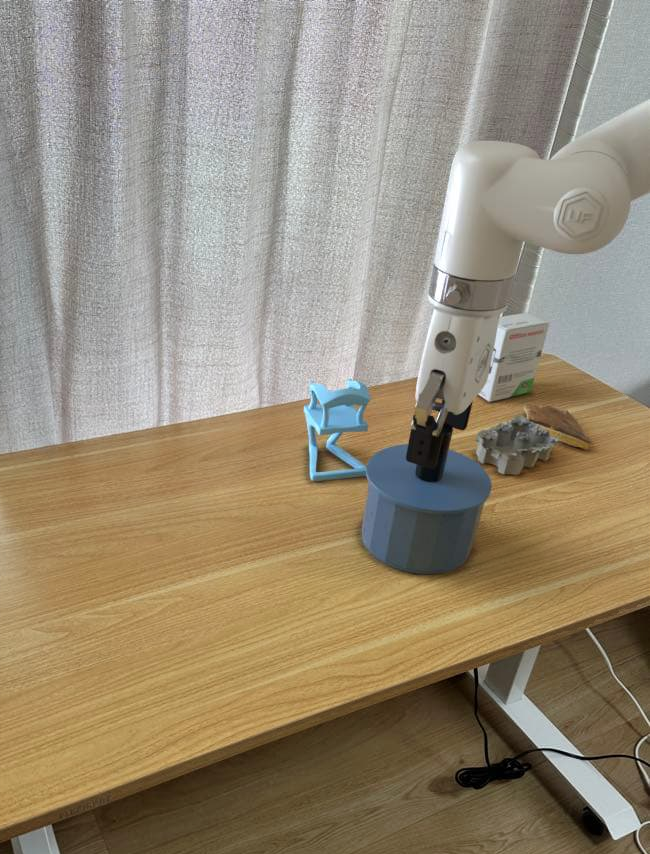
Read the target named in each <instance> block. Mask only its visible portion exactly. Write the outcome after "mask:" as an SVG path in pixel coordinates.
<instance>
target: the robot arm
mask: <svg viewBox="0 0 650 854" xmlns="http://www.w3.org/2000/svg"><path fill="white" fill-rule="evenodd" d="M648 194H650V98H648V99H646V100H645V101H643V102H641V103H639V104H636V105H635V106H633V107H631V108H629V109H627V110H626V111H624V112H622V113H620V114H618V115H616V116H615V117H613V118H611V119H609V120H608V121H606V122H604V123H601V124H600V125H598V126H597V127H594V128H592V129H591V130H589V131H587V132H586V133H583V134H582V135H580V136H578V137H576V138H575V139H574V140H572V141H570V142H568V143H567V144H566V145H564V146H563V147H561V148H560V149H558V151H557V152H555V154H554V155H553V156H552V157H551V158H550V159H546V158H545V159H544V158H540V156H539V154H538V153H537V152H536V151H535V150H534V149H532V148H530V147H529V146H526V145H523V144H521V143H516V142H511V141H510V142H509V141H503V140H502V141H501V140H475V141H469V142H467V143H465V144H463V145H461V146H460V147H459V149H457V151H456V152H455V154H454V156H453V159H452V163H451V167H450V172H449V179H448V183H447V187H446V194H445V200H444V205H443V210H442V216H441V222H440V227H439V233H438V238H437V244H436V250H435V254H434V259H433V260H434V261H433V265H432V271H431V276H430V281H429V288H428V292H427V301H428V303H430V304H431V306H433V311H432V315H431V317H430V318H431V319H430V323H429V325H428V328H427V329H428V330H427V334H426V338H425V342H424V347H423V351H422V356H421V360H420V366H419V370H418V374H417V376H418V377H417V379H416V380H417V381H416V387H415V396H414V397H415V401H416V403H415V406H414V414H413V416H412V422H411V424H410V425H411V426H410V433H409V439H408V443H407V444H408V448H407V454H406V460H407V461H408V462H411V463H414V464H417V465H420V466H423V467H426V468H430V469H434V468H435V467H436V465H437V462H438V457H439V452H440V448H441V443H442V439H443V433H440V432H441V429H442V427H443V424H444V422H445V423H448V424H449V425H451V426H452V428H453V429H456V430H459V431H465V430H466V429H467V427H468V423H469V420H470V415H471V411H472V407H473V402H474V400H475V399H476V398H477V397H478V396H479V395H478V394H479V393H480V391H481V390H482V389H483V387H484V386H485V384H486V382H487V379H488V374H489V369H490V364H491V359H492V354H493V349H494V344H495V339H496V334H497V328H498V322H499V317H501V316H500V315H501V314H503V313H505V312H506V311H507V309H508V306H509V301H510V297H511V293H512V289H513V284H514V281H515V277H516V273H517V269H518V265H519V262H520V261H519V260H520V258H521V252H522V248H523V245H524V243H526V244H531V245H534V246H537V247H540V248H543V249H546V250H549V251H552V252H556V253H560V254H567V255H585V254H590V253H594V252H597V251H599V250H601V249H603V248H605V247H606V246H607V245H609V244H610V243H611V242H613V241H614V240H615V239H616V238H617V237H618V236H619V234H620V233H621V232H622V230H623V229H624V227H625V225H626V223H627V221H628V218H629V215H630V211H631V210H630V209H631V205H632V204H631V202H634V201H635V200H637V199H639V198H641V197H643V196H645V195H648ZM437 399H439V400H441V402H438V401H436V400H437ZM433 411H436V412H439V413H438V416H437V418H436V419H435V416H434V415H432V412H433ZM435 421H436V422H435Z"/></svg>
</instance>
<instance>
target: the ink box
mask: <svg viewBox="0 0 650 854" xmlns="http://www.w3.org/2000/svg"><path fill="white" fill-rule="evenodd" d="M549 326H550V322H548V321H547V320H544V319H542V318H540V317H539V316H537V315H535V314H532V313H531V312H523V313H522V312H521V313H517V314H511V315H504V316H503V315H502V316H499V322H498V328H497V334H496V339H495V344H494V349H493V354H492V359H491V364H490V369H489V374H488V379H487V382H486V384H485V386H484V387H483V389H482V390H481V391H480V393H479V394H478V395H477V396H480V397H481V398H483V399H484V400H485V401H487V402H489V403H491V402H495V401H499V400H504V399H508V398H513V397H517V396H521V395H526V394H531V392H532V389H533V384H534V381H535V377H536V373H537V371H538V366H539V363H540V359H541V356H542V352H543V348H544V345H545V341H546V337H547V334H548V330H549Z"/></svg>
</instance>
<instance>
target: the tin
mask: <svg viewBox="0 0 650 854" xmlns="http://www.w3.org/2000/svg"><path fill="white" fill-rule="evenodd" d="M484 506H485V502H484V503H483V504H482V505H481V506H479V507H477V508H475V509H473V510H470V511H467V512H463V513H457V514H430V513H424V512H419V511H414V510H411V509H407V508H404V507H402V506H399V505H397V504H395V503H393V502H390V501H389V500H387V499H385V498H384V497H382V496H381V495H380V494H378V493H377V492H376V491H375V490H374V489H373V488H372V486H371V485H370V483H369V482H368V487H367V495H366V501H365V507H364V512H363V519H362V527H361V539H362V543H363V545H364V546H365V548H366V550H367V551H368V552H369V553H370V554H371V555H372V556H373V557H374V558H375V559H377V560H378V561H380V562H381V563H383V564H385V565H387V566H388V567H391V568H392V569H393V568H394V569H396V570H399V571H403V572H407V573H411V574H418V575H437V574H439V575H440V574H444V573H448V572H451V571H454V570H456V569H457V568H460V567H461V566H462V565H463V564H464V563H465V562H466V561H467V560H468V559H469V556H470V553H471V552H472V550H473V546H474V543H475V539H476V535H477V531H478V529H479V524H480V520H481V517H482V513H483V509H484Z"/></svg>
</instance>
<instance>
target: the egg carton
mask: <svg viewBox="0 0 650 854" xmlns="http://www.w3.org/2000/svg"><path fill="white" fill-rule="evenodd" d="M558 440H559V438H558V437H555V438H553V437H551V436H550V434H549V431H548V430H543V429H542V428H541V427H540V426H538V425H536V424H535V423H534V422H532V423H531V422H529V421H528V420H527V417H525V416H524V415H523V414H518V415H517V416H515V417H514V418H512V419H510V420H509V421H505V422H504V423H503V422H500V423H499V424H497V425H494V426H492V427H491V428H489V429H482V430H481V429H480V431H478V433H477V435H476V438H475V440H474V442H475V443H476V444H478V445H477V448H476V451H475V454H476V456H477V460H478V462H479V463H481V464H483V465H484V464H491V465H493V466H495V467H497V468H498V469H497V473H500V474H501V475H512V476H518V475H520V474H521V472H522V470H523V469H524V468H533V467H534V466H535V464H536V462H537V461H538V460H542V461H547V460H549V459H550V456H551V455H550V454H551V451H552V449H553V447H554V446H555V447H556V446H557V444H558V442H559V441H558Z"/></svg>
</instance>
